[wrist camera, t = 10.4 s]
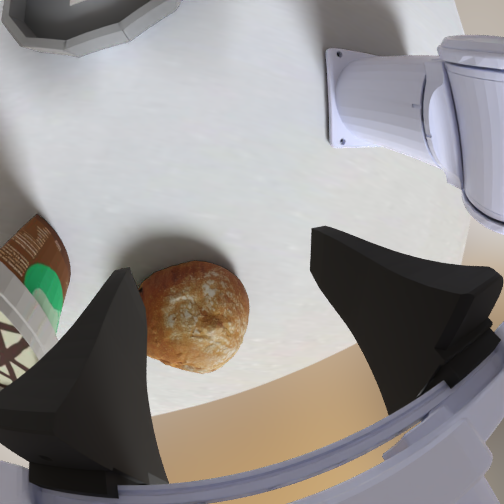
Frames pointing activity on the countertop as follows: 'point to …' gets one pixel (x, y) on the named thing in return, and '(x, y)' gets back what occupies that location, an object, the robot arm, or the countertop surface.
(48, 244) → the food container
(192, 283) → the bread roll
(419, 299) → the robot arm
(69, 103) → the countertop surface
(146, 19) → the grey faceted hollow container
